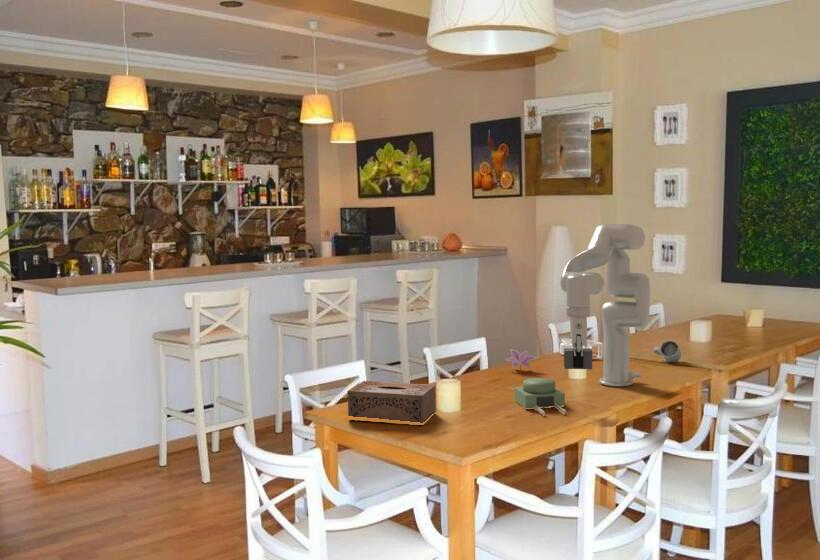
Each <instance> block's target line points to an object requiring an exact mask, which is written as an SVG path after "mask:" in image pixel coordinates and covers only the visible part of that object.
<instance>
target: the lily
mask: <svg viewBox="0 0 820 560" xmlns="http://www.w3.org/2000/svg"><path fill="white" fill-rule="evenodd" d="M509 351H510V354H511V357H507V358H505V361H507V362H508V361H509V362H512V368H516V367H518V366H519V372H520V374H522V369H521V367H522V366H524V367H527V368H531V367H530V364H529V362H530V361H533V360H536V359H538V357H537V356H534V355H530V354H528V350H525V351H524V350H523V351H522V352H520V351H518V350H515V349H512V348H510V349H509ZM521 365H522V366H521Z"/></svg>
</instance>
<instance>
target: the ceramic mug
mask: <svg viewBox="0 0 820 560" xmlns="http://www.w3.org/2000/svg"><path fill="white" fill-rule="evenodd" d="M653 353H654V354H655V355H658V356H662V357H663V358H664V359H665V360H666V361H667V362H668V363H673V364H675V363H677V362H679V361H680V360H681V358H682V351H681V349H680V346H679V344H678V343H677V342H676V341H674V340H666V341H664V342H662V343H661V345H660V346H654V348H653Z"/></svg>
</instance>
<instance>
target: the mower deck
mask: <svg viewBox="0 0 820 560" xmlns="http://www.w3.org/2000/svg"><path fill="white" fill-rule="evenodd" d="M565 394H566V393H565V392H564V391H562V390H560V389H559V388H558V387H556V381H555V380H554V379H552V378H551V379H550V378H543V377H531V378H526V379H524V380H523V382H522V386H516V387H514V401H515V400H516V401H517V402H518V403H519V404H521V405H522V406H523V407H524V408H533V407H534V408H535V409H536V410H538V411H539V412H540V413H542V414H545V415H546V411H544V409H540V408H539V407H549V406H555V407H556V408H558V409H559V410H561V411H562V412H564V413H566V414H567V410H566V409H565V408H562V407H560V406H562V405H565V402H566V399H565V398H566V396H565ZM518 403H517V404H518ZM519 404H518V405H519ZM565 406H566V405H565Z"/></svg>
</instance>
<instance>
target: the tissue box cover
mask: <svg viewBox="0 0 820 560" xmlns="http://www.w3.org/2000/svg"><path fill="white" fill-rule="evenodd" d="M436 396H437V394H436V384H427V383H426V384H424V383H407V382H392V381H391V382H390V381H374V380H373V381H370V380H363V381H361V382H360V383H358V384H356V385H355V386H353V387H351V388H350V389H348V390H347V413H348V415H347V416H353V417H367V418H379V419H389V420H400V421H410V422H420V423H423V422H425V421H426V420H427V419H428V418H429V417H430V416H431V415H432V414H434V413H435V412H436V413H437V411H436V410H437V407H436V406H437V403H436V401H437V400H436V399H437V398H436Z"/></svg>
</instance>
